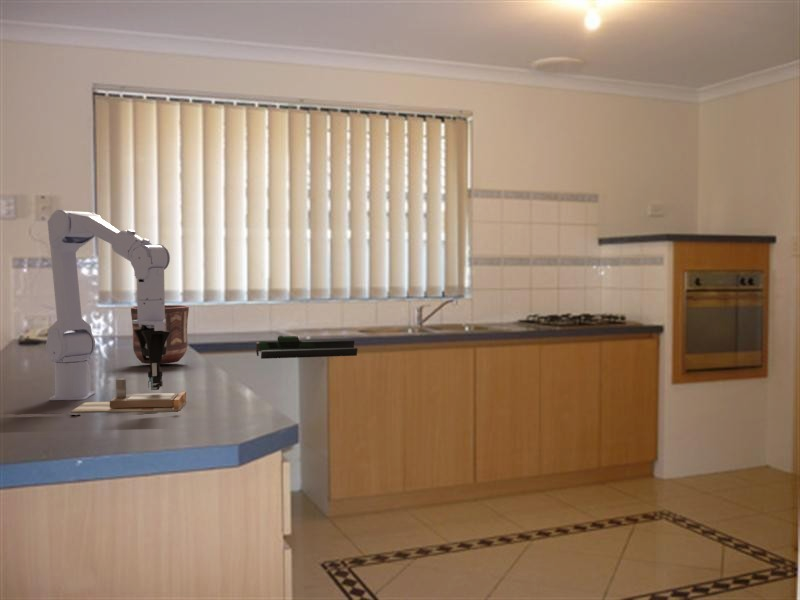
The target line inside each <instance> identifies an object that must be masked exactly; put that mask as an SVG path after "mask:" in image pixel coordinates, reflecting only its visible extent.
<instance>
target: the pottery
mask: <svg viewBox="0 0 800 600" xmlns="http://www.w3.org/2000/svg"><path fill="white" fill-rule="evenodd" d="M189 312H190V307H189V306H188V305H179V304H178V305H177V304H176V305H174V304H173V305H172V304H166V305H165V319H166V323H165V331H170V334H169V336H168V338H167V340H166V342H165V345H164V346H165V347H167V349H166V354H165V355H163V356H162V359H161V362H160V363H159V365H161V364H171V363H172V364H173V363H177V362H179V361H181V359H182V358H183V357H184V356H185V354H186V352H187V349H188V320H189V319H188V317H189ZM130 315H131V321H132V320H138V312H137V305H136V306H132V307H130ZM131 324H132V348H133V349H132V350H133V353H134V355H135V356H136V358H137V359H138V361H140V363H142V364H147V365H148V364H149V365H150V360H144V359H143V356H142V352H141V347H140V344H139V341H138V338H137V336H136V334H135V332H134V329H141V328H142V327H140V326H139V324H133V323H132V322H131Z"/></svg>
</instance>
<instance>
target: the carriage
mask: <svg viewBox="0 0 800 600" xmlns="http://www.w3.org/2000/svg"><path fill="white" fill-rule="evenodd" d="M115 388H116V390H115V392H116V393H115V394H116V396H114V397H113V398H112V399H110V400H109V402H110V408H131V407H173V406H174V399H175V398H176V397H177V396H178V395H179V393H176V392H170V393H169V392H165V393H164V392H163V393H162V392H161V393H159V392H157V393H155V392H154V393H133V394H132V393H130V394H127V379H126V378H116V380H115Z"/></svg>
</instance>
